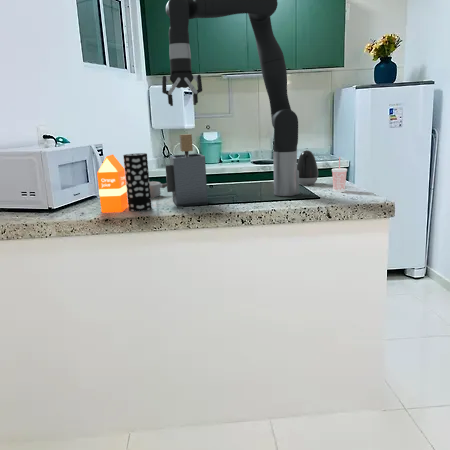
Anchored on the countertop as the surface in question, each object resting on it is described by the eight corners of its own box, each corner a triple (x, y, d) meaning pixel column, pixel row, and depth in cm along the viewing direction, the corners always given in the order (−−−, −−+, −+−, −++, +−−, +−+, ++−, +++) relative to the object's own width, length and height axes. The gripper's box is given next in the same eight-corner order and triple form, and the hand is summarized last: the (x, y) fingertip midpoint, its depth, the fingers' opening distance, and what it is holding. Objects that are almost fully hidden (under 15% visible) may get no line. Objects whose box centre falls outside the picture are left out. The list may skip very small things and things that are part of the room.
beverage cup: (329, 191, 180) (329, 157, 177) (334, 189, 185) (334, 155, 182) (344, 192, 177) (344, 157, 173) (348, 190, 182) (349, 155, 178)
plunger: (199, 196, 176) (195, 133, 170) (203, 201, 167) (199, 134, 161) (176, 198, 174) (171, 134, 168) (179, 203, 165) (174, 135, 159)
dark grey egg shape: (295, 186, 196) (294, 151, 192) (295, 182, 206) (295, 149, 202) (318, 186, 194) (319, 151, 190) (317, 182, 204) (318, 148, 200)
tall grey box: (201, 198, 178) (199, 153, 173) (207, 204, 167) (204, 156, 162) (166, 202, 175) (163, 155, 170) (170, 207, 164) (166, 158, 159)
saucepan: (182, 196, 184) (181, 183, 183) (133, 200, 182) (132, 186, 180) (181, 192, 195) (180, 179, 194) (134, 195, 193) (133, 182, 191)
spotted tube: (141, 212, 158) (135, 155, 153) (124, 210, 163) (118, 155, 158) (156, 207, 165) (151, 153, 160) (139, 205, 170) (134, 153, 165)
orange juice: (101, 212, 161) (94, 157, 156) (108, 207, 169) (102, 154, 164) (122, 212, 160) (116, 156, 155) (128, 206, 169) (123, 153, 164)
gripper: (198, 59, 163) (200, 104, 167) (159, 59, 160) (162, 106, 164) (201, 56, 156) (204, 104, 160) (161, 57, 153) (164, 106, 157)
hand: (183, 105), depth 162 cm, fingers open, 8 cm apart
